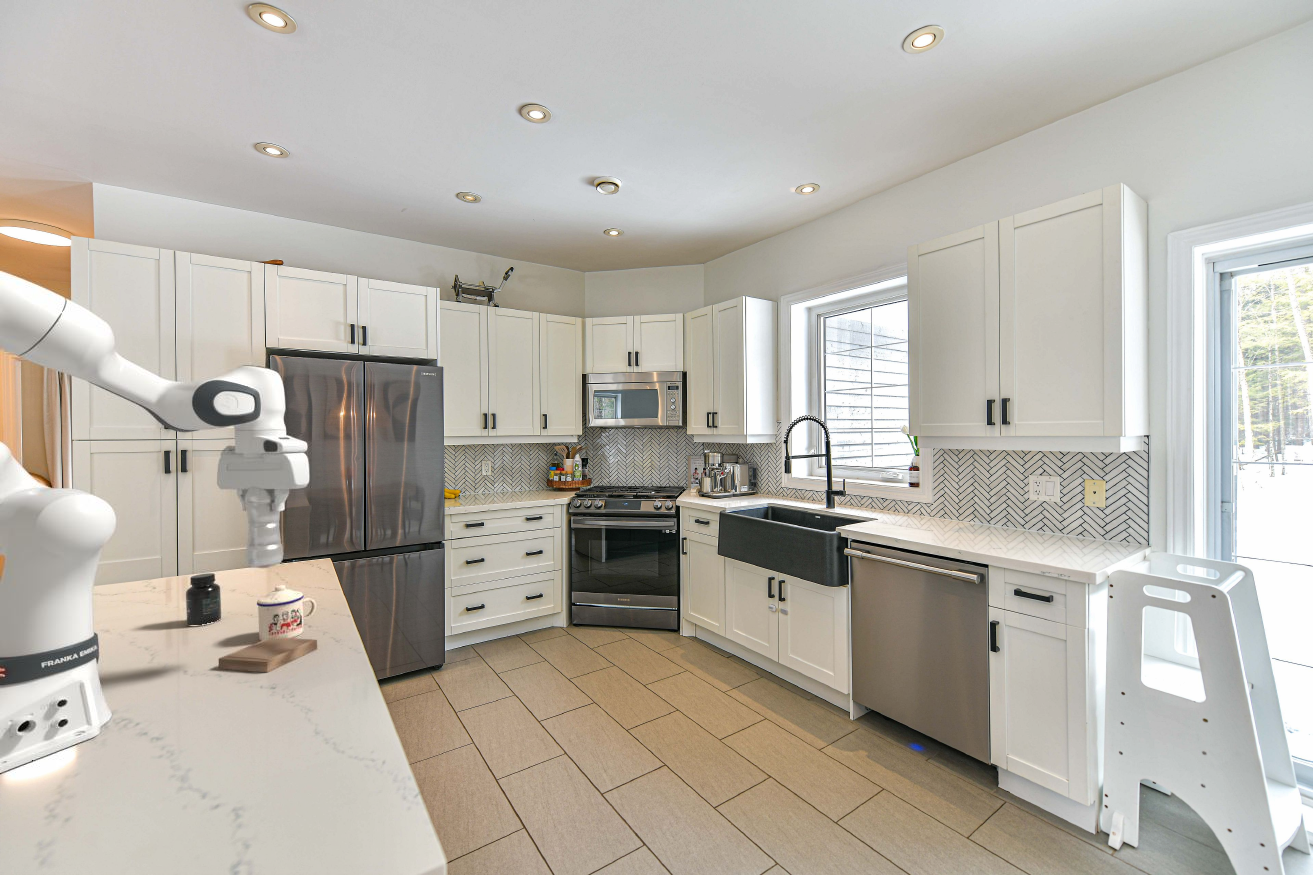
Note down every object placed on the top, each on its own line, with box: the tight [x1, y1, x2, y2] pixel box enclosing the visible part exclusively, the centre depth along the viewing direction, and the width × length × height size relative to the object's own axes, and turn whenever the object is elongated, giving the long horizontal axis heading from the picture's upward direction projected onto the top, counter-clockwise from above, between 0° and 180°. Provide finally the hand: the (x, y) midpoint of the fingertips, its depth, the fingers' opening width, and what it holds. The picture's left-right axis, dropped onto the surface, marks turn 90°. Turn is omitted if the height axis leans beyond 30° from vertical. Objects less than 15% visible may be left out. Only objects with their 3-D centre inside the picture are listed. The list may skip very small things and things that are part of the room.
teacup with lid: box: [256, 584, 317, 641], centre depth 132 cm, size 12×9×12 cm
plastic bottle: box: [244, 486, 284, 569], centre depth 117 cm, size 6×7×20 cm
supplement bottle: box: [185, 572, 222, 626], centre depth 143 cm, size 7×7×12 cm
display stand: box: [218, 637, 318, 673], centre depth 118 cm, size 12×12×2 cm
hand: (263, 510), depth 117 cm, fingers closed on plastic bottle, 6 cm apart
